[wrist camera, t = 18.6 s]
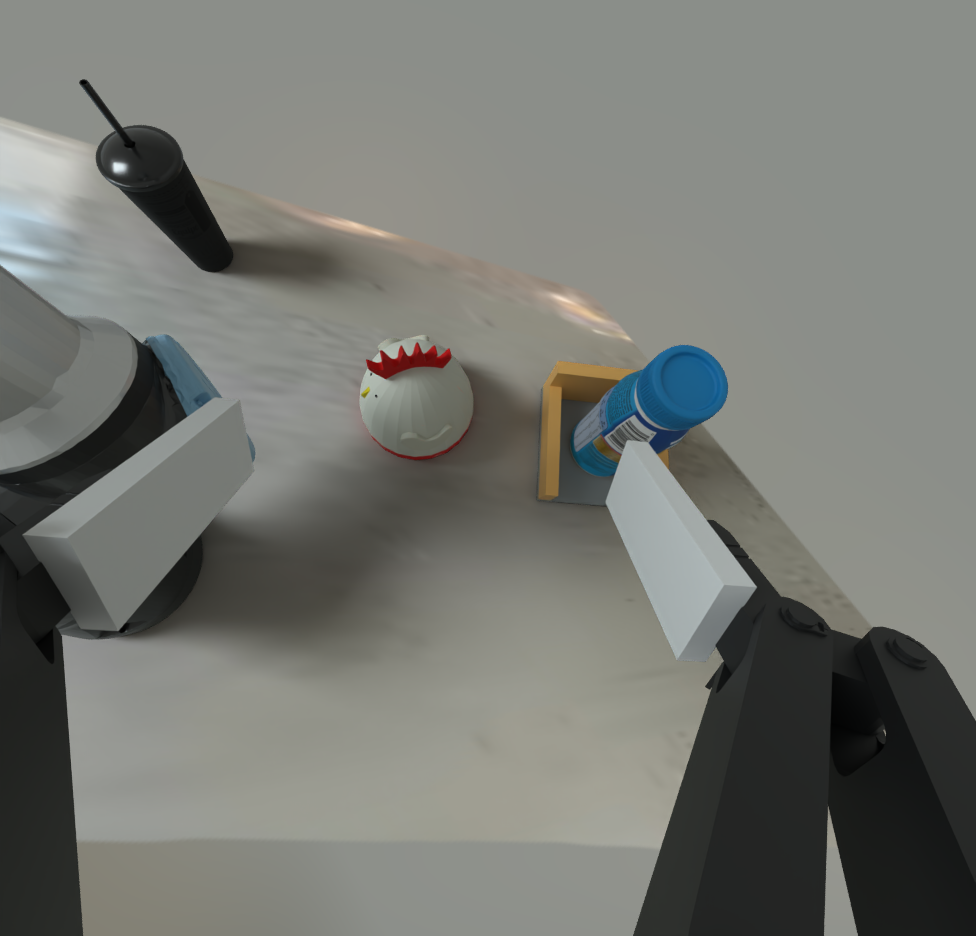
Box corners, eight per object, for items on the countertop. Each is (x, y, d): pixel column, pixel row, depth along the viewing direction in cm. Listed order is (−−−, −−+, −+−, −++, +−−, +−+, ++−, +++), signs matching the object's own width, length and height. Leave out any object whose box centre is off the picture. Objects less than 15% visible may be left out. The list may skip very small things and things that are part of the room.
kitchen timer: (353, 368, 52) (319, 294, 38) (457, 348, 54) (463, 271, 40) (375, 471, 50) (349, 434, 35) (484, 446, 52) (501, 402, 37)
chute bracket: (650, 510, 52) (687, 501, 45) (536, 500, 51) (553, 489, 43) (648, 401, 56) (682, 375, 48) (541, 389, 54) (558, 360, 47)
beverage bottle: (561, 420, 53) (630, 338, 33) (621, 411, 54) (723, 328, 34) (575, 483, 51) (657, 436, 32) (637, 473, 52) (753, 422, 33)
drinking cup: (235, 224, 55) (122, 41, 35) (251, 272, 53) (144, 108, 34) (174, 239, 53) (22, 55, 34) (190, 288, 52) (41, 127, 33)
